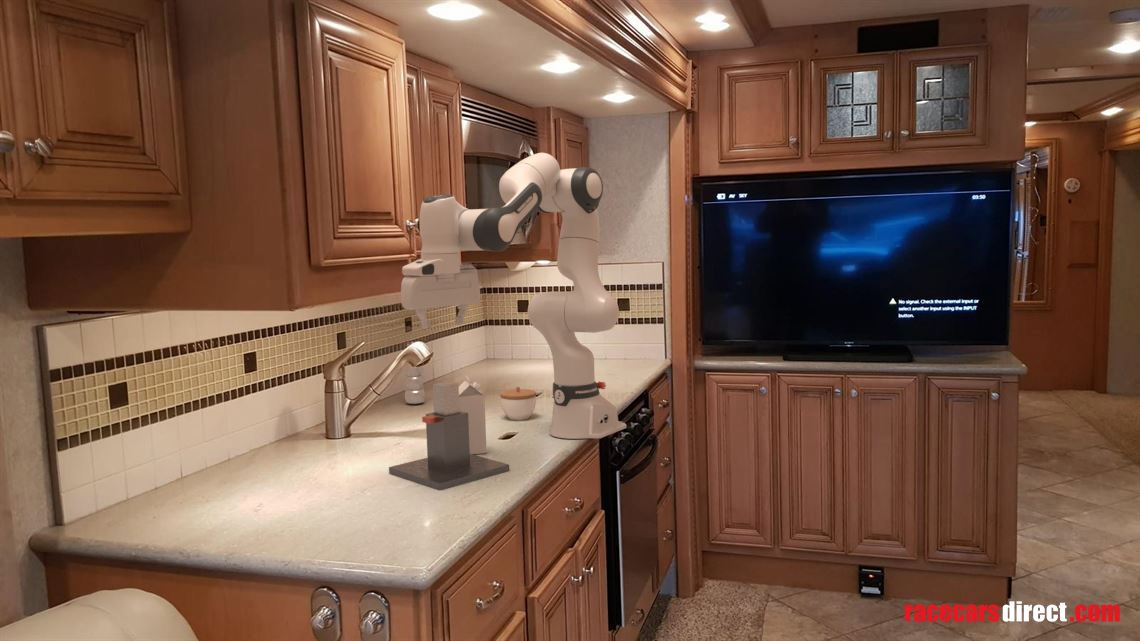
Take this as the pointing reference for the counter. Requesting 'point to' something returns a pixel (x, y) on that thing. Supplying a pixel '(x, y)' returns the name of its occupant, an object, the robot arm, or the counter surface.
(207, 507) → the counter surface
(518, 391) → the lidded jar
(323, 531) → the counter surface
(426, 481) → the jack base
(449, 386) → the block
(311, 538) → the counter surface
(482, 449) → the milk carton
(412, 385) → the plastic bottle
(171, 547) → the counter surface
